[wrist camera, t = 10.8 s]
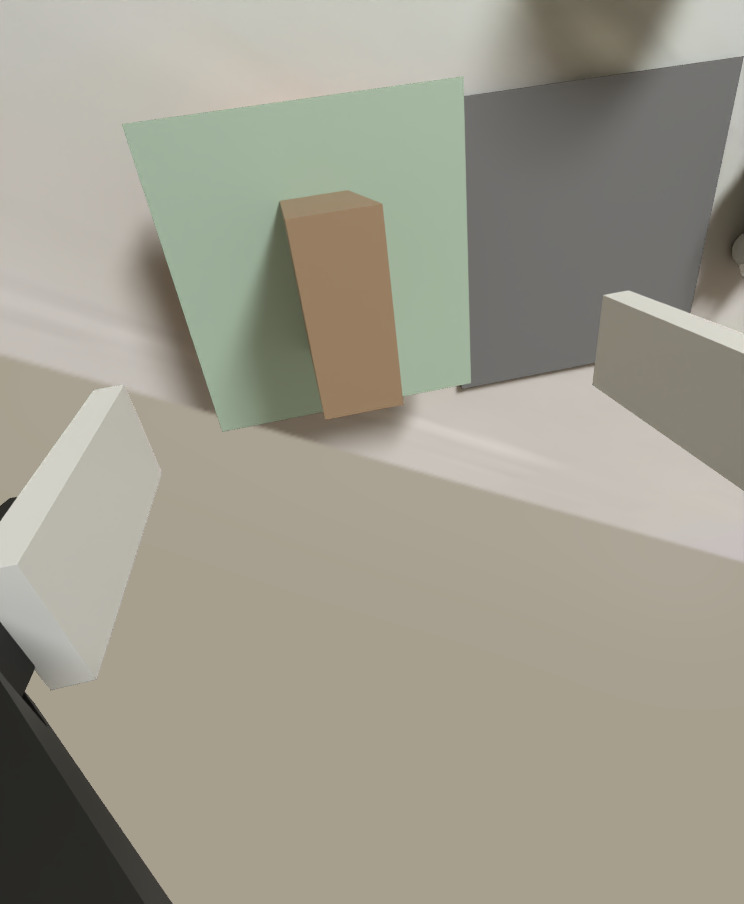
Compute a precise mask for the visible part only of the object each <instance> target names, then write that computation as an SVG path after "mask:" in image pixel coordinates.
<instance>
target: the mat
mask: <svg viewBox="0 0 744 904" xmlns="http://www.w3.org/2000/svg"><path fill="white" fill-rule="evenodd" d="M743 58H744V56H742V57H735V58H728V59H721V60H714V61H707V62H700V63H693V64H686V65H679V66H672V67H665V68H658V69H651V70H644V71H637V72H630V73H623V74H616V75H609V76H602V77H595V78H588V79H581V80H574V81H567V82H560V83H553V84H546V85H540V86H533V87H526V88H519V89H512V90H505V91H498V92H491V93H484V94H477V95H470V96H464V119H465V159H466V200H467V241H468V281H469V322H470V363H471V383H469V384H464V385H460V387H461V388H462V389H464V388H470V387H475V386H480V385H485V384H490V383H495V382H500V381H505V380H510V379H515V378H520V377H525V376H531V375H536V374H541V373H546V372H551V371H556V370H561V369H566V368H571V367H576V366H581V365H586V364H592V363H595V359H596V351H597V342H598V334H599V325H600V317H601V309H602V300H603V295H606V294H612V293H617V292H622V291H628V290H629V291H632V292H634V293H637V294H640V295H642V296H645V297H648V298H650V299H653V300H656V301H658V302H661V303H664V304H666V305H669V306H672V307H674V308H677V309H680V310H682V311H685V312H688V313H690V311H691V307H692V302H693V297H694V292H695V288H696V283H697V278H698V273H699V268H700V264H701V259H702V254H703V249H704V244H705V240H706V235H707V230H708V225H709V220H710V216H711V211H712V206H713V201H714V197H715V192H716V187H717V182H718V177H719V173H720V168H721V163H722V158H723V153H724V149H725V144H726V139H727V134H728V129H729V125H730V120H731V115H732V110H733V105H734V101H735V96H736V91H737V86H738V82H739V77H740V72H741V67H742V62H743Z"/></svg>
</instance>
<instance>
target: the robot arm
mask: <svg viewBox="0 0 744 904" xmlns="http://www.w3.org/2000/svg"><path fill="white" fill-rule="evenodd" d="M592 385H593V386H595V387H596V388H598V389H599V390H601V391H602V392H603V393H605V394H606V395H608V396H609V397H611V398H612V399H613V400H615V401H616V402H618V403H619V404H621V405H622V406H623V407H625V408H626V409H628V410H629V411H631V412H632V413H633V414H635V415H636V416H638V417H639V418H641V419H642V420H643V421H645V422H646V423H648V424H649V425H651V426H652V427H653V428H655V429H656V430H658V431H659V432H661V433H662V434H663V435H665V436H666V437H668V438H669V439H671V440H672V441H673V442H675V443H676V444H678V445H679V446H681V447H682V448H683V449H685V450H686V451H688V452H689V453H691V454H692V455H693V456H695V457H696V458H698V459H699V460H701V461H702V462H703V463H705V464H706V465H708V466H709V467H711V468H712V469H713V470H715V471H716V472H718V473H719V474H721V475H722V476H723V477H725V478H726V479H728V480H729V481H730V482H732V483H733V484H735V485H736V486H738V487H739V488H740V489H742V490H743V491H744V333H741V332H739V331H736V330H733V329H731V328H728V327H725V326H723V325H720V324H717V323H715V322H712V321H709V320H707V319H704V318H701V317H699V316H696V315H693V314H690V313H688V312H685V311H682V310H680V309H677V308H674V307H672V306H669V305H666V304H664V303H661V302H658V301H656V300H653V299H650V298H648V297H645V296H642V295H640V294H637V293H634V292H632V291H629V290H628V291H622V292H617V293H612V294H606V295H603V300H602V309H601V317H600V325H599V334H598V342H597V351H596V359H595V367H594V376H593V384H592ZM161 474H162V472H161V469H160V467H159V464H158V462H157V460H156V457H155V455H154V453H153V450H152V448H151V446H150V444H149V441H148V439H147V436H146V434H145V431H144V429H143V427H142V424H141V422H140V420H139V417H138V415H137V413H136V410H135V408H134V405H133V403H132V401H131V398H130V396H129V394H128V391H127V389H126V387H125V384H124V385H118V386H113V387H108V388H102V389H97V390H94V391H93V392H92V393H91V395H90V396H89V398H88V399H87V401H86V402H85V403H84V405H83V406H82V408H81V409H80V410H79V412H78V413H77V414H76V416H75V417H74V419H73V420H72V421H71V423H70V424H69V426H68V427H67V428H66V430H65V431H64V433H63V434H62V436H61V437H60V438H59V440H58V441H57V443H56V444H55V445H54V447H53V448H52V449H51V451H50V452H49V454H48V455H47V456H46V458H45V459H44V461H43V462H42V463H41V465H40V466H39V468H38V469H37V471H36V472H35V473H34V475H33V476H32V477H31V479H30V481H29V482H28V483H27V484H26V486H25V487H24V489H23V490H22V492H21V493H20V494H19V496H18V497H15V498H10V499H8V500H7V501H6V502H5V503H3V504H2V505H1V506H0V904H172V902H171V901H170V899H169V898H168V897H167V895H166V894H165V892H164V891H163V889H162V888H161V886H160V885H159V883H158V882H157V881H156V879H155V878H154V876H153V875H152V873H151V872H150V870H149V869H148V867H147V866H146V865H145V863H144V862H143V860H142V859H141V857H140V856H139V854H138V853H137V852H136V850H135V849H134V847H133V846H132V844H131V843H130V841H129V840H128V838H127V837H126V836H125V834H124V833H123V831H122V830H121V828H120V827H119V825H118V824H117V822H116V821H115V820H114V818H113V817H112V815H111V814H110V812H109V811H108V809H107V808H106V807H105V805H104V804H103V802H102V801H101V799H100V798H99V796H98V795H97V794H96V792H95V791H94V789H93V788H92V786H91V785H90V783H89V782H88V780H87V779H86V778H85V776H84V775H83V773H82V772H81V770H80V769H79V767H78V766H77V765H76V763H75V762H74V760H73V759H72V757H71V756H70V754H69V753H68V751H67V750H66V749H65V747H64V746H63V744H62V743H61V741H60V740H59V738H58V737H57V736H56V734H55V733H54V731H53V730H52V728H51V727H50V725H49V724H48V722H47V721H46V719H45V718H44V717H43V715H42V714H41V712H40V711H39V709H38V708H37V706H36V705H35V703H34V702H33V701H32V700H31V699H30V697H29V696H28V695H27V694H26V693H25V689H26V687H27V685H28V683H29V680H30V678H31V676H32V674H33V671H34V670H35V671H36V672H37V673H38V675H39V676H40V677H41V679H42V680H43V681H44V682H45V684H46V685H47V686H48V687H49V689H50V690H55V689H59V688H63V687H67V686H72V685H76V684H80V683H84V682H88V681H92V680H96V679H97V677H98V674H99V671H100V668H101V664H102V661H103V658H104V655H105V652H106V648H107V645H108V642H109V639H110V636H111V633H112V630H113V626H114V623H115V620H116V617H117V614H118V610H119V607H120V604H121V601H122V598H123V595H124V591H125V588H126V585H127V582H128V579H129V576H130V572H131V569H132V566H133V563H134V560H135V557H136V553H137V550H138V547H139V544H140V541H141V537H142V534H143V531H144V528H145V525H146V521H147V518H148V515H149V512H150V509H151V506H152V502H153V499H154V496H155V493H156V490H157V487H158V484H159V480H160V477H161Z"/></svg>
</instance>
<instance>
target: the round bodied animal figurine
mask: <svg viewBox="0 0 744 904" xmlns="http://www.w3.org/2000/svg"><path fill="white" fill-rule="evenodd" d="M732 258H733V260H734V261H735V262H737V264H739V269H740V273H741V275H742V276H743V277H744V233H743V234H741V235H740V236H739V237H738V238H737V239H736V241H735V242H734V244H733V247H732Z"/></svg>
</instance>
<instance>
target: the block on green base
mask: <svg viewBox="0 0 744 904" xmlns="http://www.w3.org/2000/svg"><path fill="white" fill-rule="evenodd" d="M122 126H123V129H124V132H125V135H126V138H127V141H128V144H129V147H130V150H131V154H132V157H133V160H134V163H135V166H136V169H137V172H138V175H139V178H140V181H141V184H142V187H143V190H144V193H145V196H146V199H147V203H148V206H149V209H150V212H151V215H152V218H153V221H154V224H155V227H156V230H157V233H158V236H159V239H160V242H161V245H162V248H163V252H164V255H165V258H166V261H167V264H168V267H169V270H170V273H171V276H172V279H173V282H174V285H175V288H176V291H177V294H178V297H179V301H180V304H181V307H182V310H183V313H184V316H185V319H186V322H187V325H188V328H189V331H190V334H191V337H192V340H193V343H194V346H195V350H196V353H197V356H198V359H199V362H200V365H201V368H202V371H203V374H204V377H205V380H206V383H207V386H208V389H209V392H210V396H211V399H212V402H213V405H214V408H215V411H216V414H217V417H218V420H219V423H220V426H221V429H222V431H229V430H233V429H239V428H244V427H249V426H254V425H260V424H265V423H270V422H275V421H280V420H285V419H290V418H295V417H300V416H305V415H311V414H316V413H321V412H323V413H324V417H325V420H328V419H333V418H338V417H343V416H348V415H353V414H358V413H363V412H368V411H374V410H379V409H384V408H389V407H394V406H399V405H403V396H408V395H413V394H418V393H423V392H428V391H433V390H438V389H443V388H448V387H454V386H459V385H464V384H469V383H471V363H470V322H469V281H468V241H467V200H466V159H465V119H464V78H463V77H456V78H448V79H441V80H434V81H427V82H420V83H413V84H406V85H398V86H391V87H384V88H377V89H370V90H363V91H355V92H348V93H341V94H334V95H327V96H320V97H313V98H305V99H298V100H291V101H284V102H277V103H270V104H262V105H255V106H248V107H241V108H234V109H227V110H219V111H212V112H205V113H198V114H191V115H184V116H177V117H169V118H162V119H155V120H148V121H141V122H134V123H126V124H122Z"/></svg>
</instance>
